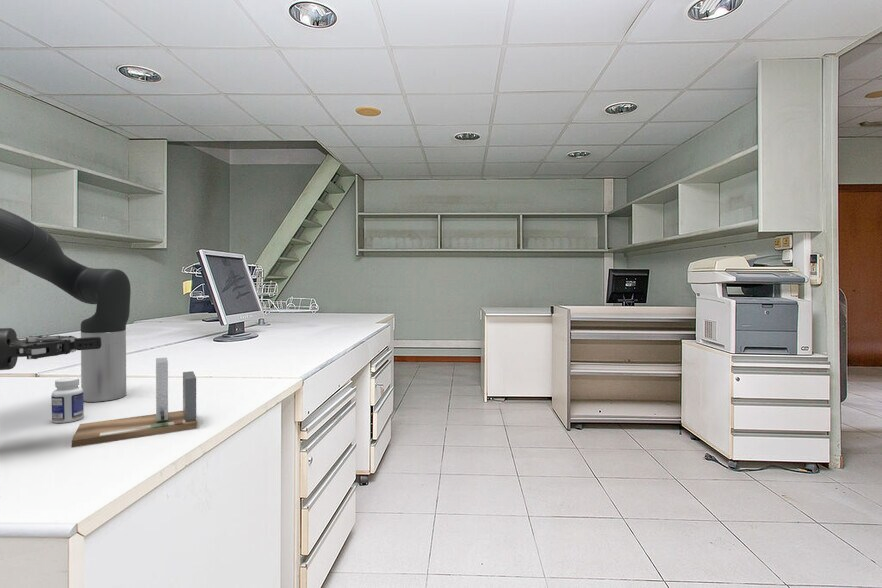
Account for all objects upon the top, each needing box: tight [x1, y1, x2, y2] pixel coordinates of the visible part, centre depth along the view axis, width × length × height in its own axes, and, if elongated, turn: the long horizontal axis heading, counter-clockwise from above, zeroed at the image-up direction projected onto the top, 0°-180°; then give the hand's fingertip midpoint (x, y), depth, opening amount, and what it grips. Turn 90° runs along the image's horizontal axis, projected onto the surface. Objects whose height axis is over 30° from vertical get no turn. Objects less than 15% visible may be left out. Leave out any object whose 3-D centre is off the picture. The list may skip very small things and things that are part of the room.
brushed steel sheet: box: [155, 357, 169, 421], centre depth 91 cm, size 9×2×12 cm, turn 34°
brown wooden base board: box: [71, 410, 198, 448], centre depth 90 cm, size 11×20×2 cm, turn 124°
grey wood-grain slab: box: [182, 371, 197, 422], centre depth 95 cm, size 8×2×9 cm, turn 34°
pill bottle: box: [50, 376, 85, 424], centre depth 95 cm, size 5×5×9 cm
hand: (101, 342), depth 87 cm, fingers closed
